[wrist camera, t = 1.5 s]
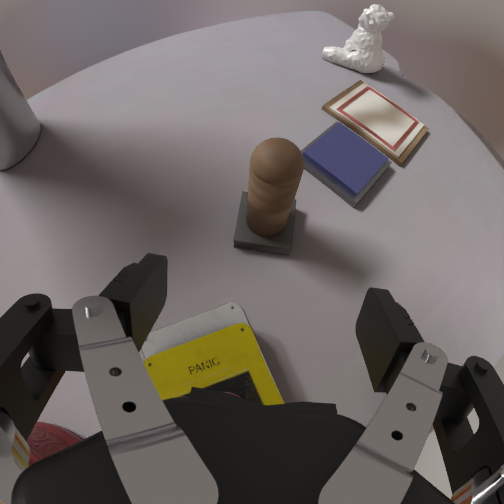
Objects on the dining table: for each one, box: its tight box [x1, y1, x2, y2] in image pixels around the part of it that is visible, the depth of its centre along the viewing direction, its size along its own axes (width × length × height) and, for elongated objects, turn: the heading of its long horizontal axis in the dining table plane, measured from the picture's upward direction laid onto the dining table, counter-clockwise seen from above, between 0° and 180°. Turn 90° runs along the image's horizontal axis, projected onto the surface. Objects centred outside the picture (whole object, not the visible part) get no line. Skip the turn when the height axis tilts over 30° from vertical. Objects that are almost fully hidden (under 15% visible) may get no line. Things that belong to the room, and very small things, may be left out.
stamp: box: [234, 138, 304, 255], centre depth 24 cm, size 5×5×11 cm
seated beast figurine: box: [322, 4, 394, 74], centre depth 36 cm, size 10×9×12 cm
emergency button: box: [142, 303, 285, 405], centre depth 22 cm, size 9×4×15 cm
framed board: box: [322, 80, 428, 166], centre depth 36 cm, size 12×10×1 cm
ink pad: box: [301, 122, 391, 208], centre depth 32 cm, size 8×8×2 cm
